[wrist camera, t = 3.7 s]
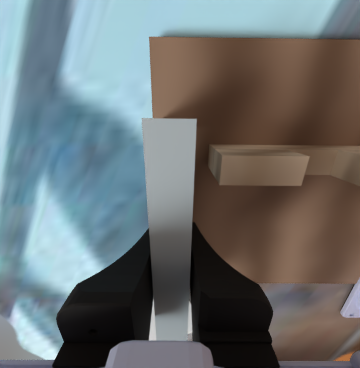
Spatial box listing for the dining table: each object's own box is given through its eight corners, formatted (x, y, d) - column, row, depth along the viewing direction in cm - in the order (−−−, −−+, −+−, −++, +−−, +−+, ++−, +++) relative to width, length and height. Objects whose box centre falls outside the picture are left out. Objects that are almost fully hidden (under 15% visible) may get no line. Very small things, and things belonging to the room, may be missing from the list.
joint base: (459, 47, 11) (663, -5, 6) (347, 275, 18) (405, 328, 14) (151, 43, 11) (130, -13, 6) (161, 274, 18) (154, 327, 13)
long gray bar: (187, 118, 12) (196, 118, 6) (183, 278, 17) (186, 367, 11) (161, 118, 12) (141, 118, 6) (165, 278, 17) (158, 367, 11)
